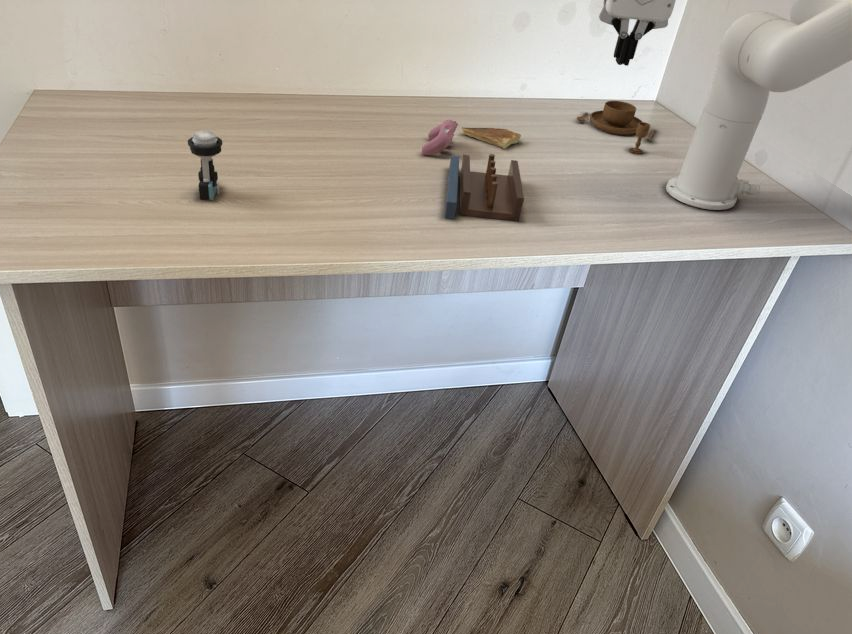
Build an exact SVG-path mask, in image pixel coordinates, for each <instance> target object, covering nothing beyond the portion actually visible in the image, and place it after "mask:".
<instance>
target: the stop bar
mask: <svg viewBox="0 0 852 634" xmlns="http://www.w3.org/2000/svg"><path fill="white" fill-rule="evenodd" d="M459 171H460V156H459V155H452V154H451V155H450V161H449V168H448V177H447V187H446V197H445V198H446V200H445V210H444V218H445V219H451V220H455V215H456V212H457V211H456V210H457V204H458V203H457V202H458V191H459V188H458V187H459V175H460V172H459Z"/></svg>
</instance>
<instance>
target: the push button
mask: <svg viewBox="0 0 852 634" xmlns="http://www.w3.org/2000/svg"><path fill="white" fill-rule="evenodd" d="M187 145H188V147H189V150H190V153H191V154H193V155H194V156H196V157H198V158H200V168H199V169H200V170H199V171H198V173H197V175H198V181H199V182H198V194H199V195H198V196H199V200H207V201H210V200H211V201H213V200H214V198H215V194H216V192H217V195H219V193H220V185H219V183H217V181H218V179H219V177H218V175H219V174H218V172H217V171H215V165H214V159H213V158H214V157H216V156H217V155H219V154H220V153H221V152H222V146H223V140H222V138H220V137H218V136H217V134H216V133H215V132H213V131H209V130H200V131H196V132H194V133H193V134H192V136H191V137H190V138H189V139H187Z"/></svg>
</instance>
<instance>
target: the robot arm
mask: <svg viewBox="0 0 852 634" xmlns="http://www.w3.org/2000/svg"><path fill="white" fill-rule="evenodd" d="M676 1H677V0H603V6H602V9H601V11H600V13H599V15H598V19H599V20H600V22H603V23H605V24H608V25H609V26H610V25H611V26H612V27H613V28H614V30H615V31H616V33H617V34H618V37H617V40H616V43H615V48H614V51H613V58H615V62H616V64H617V65H618V66H622V65H624V66H627V67H628V66H629V65H630V62H631V60H634V58H635V54H636V51H637V49H638V48H637V47H638V44H639V41H640V40H641V39H642V38H643V37H644V36H645V35H646V34H648V33H649V32H651V31H652V30H658V29H665V28H667V27H668V25H669V19H670V18H671V16H672V14H673V10H674V8H675V4H676ZM789 10H790V11H789V19H787V18H784V17H782V16H780V15H777V14H775V13H772V12H769V11H761V10H760V11H752V12H749V13H746V14H744V15H742V16H740V17H739V18H737V19H736V20H735V21H733V22H732V24H731V25H730V26H729V28H727V30H726V32H725V33H724V35H723V37H722V40H721V42H720V45H719V49H718V54H717V59H716V64H715V65H716V66H715V70H714V74H713V79H712V82H711V85H710V89H709V91H708V95H707V98H706V101H705V103H704V105H703V108H702V111H701V114H700V117H699V119H698V123H697V125H696V127H695V131H694V132H693V136H692V139H691V142H690V144H689V147H688V150H687V153H686V156H685V159H684V161H683V164H682V167H681V170H680V172H679V175H678V176H675V177H672V178H670V179H669V180H668V181H667V183H666V185H665V190H666V192H667V193H668V194H669V196H671V197H672V198H674V199H675V200H677V201H678V202H680V203H683V204H684V205H685V204H686V205H688V206H691V207H694V208H697V209H698V208H699V209H703V210H710V211H723V210H724V211H725V210H728V209H731V208H733V207H734V206H735V205H736V203H737V201H738V196H740V195H741V194H744V195H749V196H758V195H759V194H760V192H761V185H760V184H752V183H749V182H750V181H749V180H748V179H739V178H738V175H739V172H740V170H741V167H742V165H743V163H744V162H745V161H744V160H745V158H746V156H747V153H748V150H749V149H750V146H751V143H752V141H753V139H754V137H755V134H756V133H757V132H756V131H757V129H758V127H759V124H760V122H761V120H762V117H763V115H764V113H765V110H766V107H767V105H768V101H769V98H770V97H769V96H770V92H772V93H786V92H790V91H793V90H796V89H799V88H801V87H803V86H806V85H808V84H809V83H811V82H813V81H815V80H817V79H818V78H821V77H822V76H825V75H827V74H829V73H830V72H832V71H834V70H835V69H838V68H840V67H841V66H843V65H845V64H847V63H849V62H851V61H852V0H794V1H793V2H792V3H791V7H790V9H789ZM630 20H635V23H634V25H633V28H632V31H631V32H630V33H629V27H630V26H629V25H630Z"/></svg>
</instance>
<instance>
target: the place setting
mask: <svg viewBox="0 0 852 634" xmlns="http://www.w3.org/2000/svg"><path fill="white" fill-rule="evenodd" d="M636 112H637V107H636V106H635V105H633V104H631V103H629V102H625V101H622V100H608V101H606V102H605V103H604V106H603V110H595V111H593V112H591V113H590V114H589V113H588V112H584V113H583V114H582V115H581V116H577V117H576V120H577V122H584V121H585V120H586V118H585V117H586V116H587V115H588V114H589V115H590V116H589V121H590V123H591V124H592V126H594V127H595V128H596V129H598V130H600V131H602V132H605V133H609V134H613V135H621V136H629V135H634V134H635V136H636V137H637V139H636V142H635V144H634V145H635V147H631V148H629V149H628V151H629V152H630V153H631V154H634V155H635V154H636V155H642V154H643V153H644V151H643V150H642V149H640V146H641V145H642V140H643V139H644V138H645V140H646V141H650V142H653V139H652V137H653V136H654V135H655V132H656V130H655V129H653V130H652V131H651V133H650V135H649V136H648V133H649V131H650V128H651V124H650V123H649V122H646V121H645V122H644V121H643V120H641V119H640V118H638V116H635V115H636ZM647 136H648V137H647ZM646 137H647V138H646Z"/></svg>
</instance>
